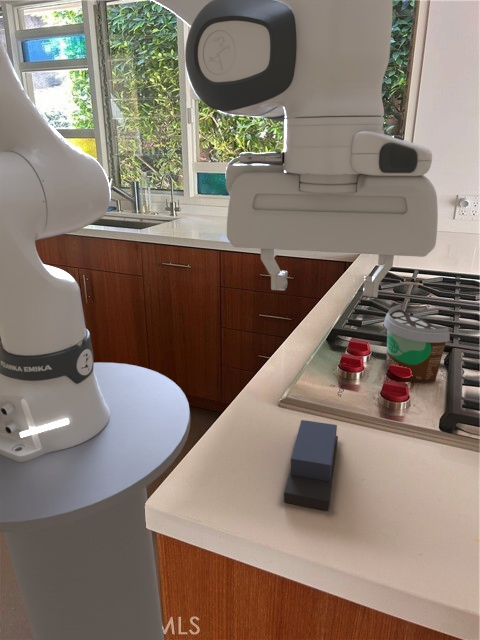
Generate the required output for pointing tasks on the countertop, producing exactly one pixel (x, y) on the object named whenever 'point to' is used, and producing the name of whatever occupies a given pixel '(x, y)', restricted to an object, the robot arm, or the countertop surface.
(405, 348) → the food container
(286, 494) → the stepped blue block
